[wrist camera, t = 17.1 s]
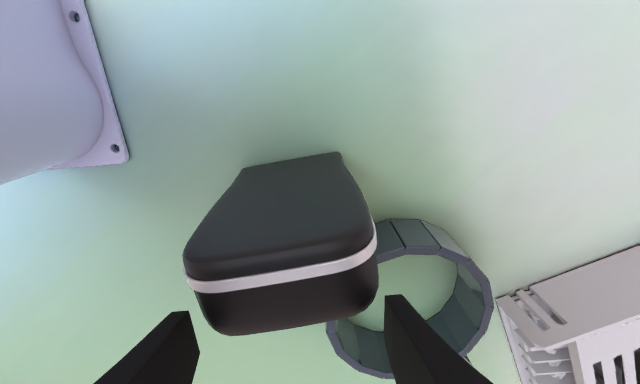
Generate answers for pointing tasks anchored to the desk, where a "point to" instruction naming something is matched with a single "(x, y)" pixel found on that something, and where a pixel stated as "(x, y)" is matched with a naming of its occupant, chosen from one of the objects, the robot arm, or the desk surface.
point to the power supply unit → (579, 324)
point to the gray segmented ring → (450, 323)
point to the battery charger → (284, 249)
